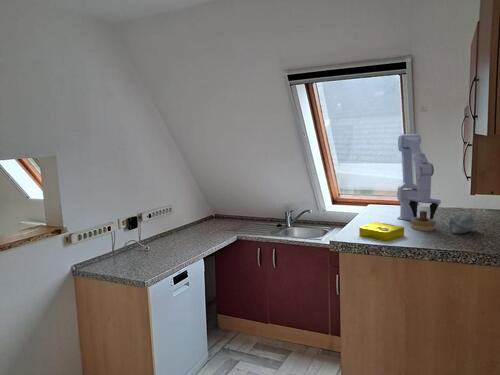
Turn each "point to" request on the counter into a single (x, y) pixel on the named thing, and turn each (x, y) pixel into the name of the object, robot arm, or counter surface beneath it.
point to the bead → (423, 224)
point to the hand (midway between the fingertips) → (423, 217)
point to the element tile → (381, 231)
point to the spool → (461, 223)
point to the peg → (423, 216)
